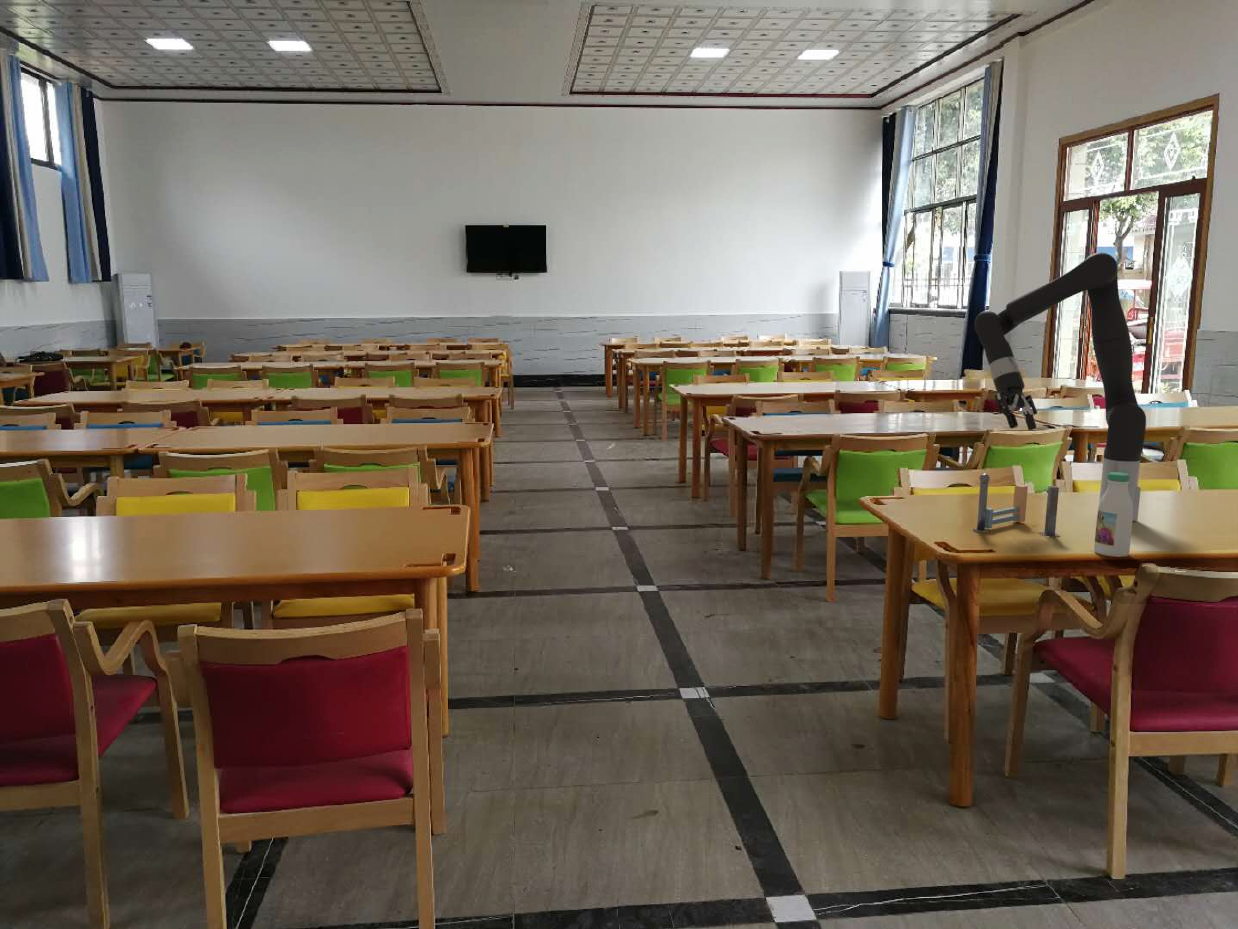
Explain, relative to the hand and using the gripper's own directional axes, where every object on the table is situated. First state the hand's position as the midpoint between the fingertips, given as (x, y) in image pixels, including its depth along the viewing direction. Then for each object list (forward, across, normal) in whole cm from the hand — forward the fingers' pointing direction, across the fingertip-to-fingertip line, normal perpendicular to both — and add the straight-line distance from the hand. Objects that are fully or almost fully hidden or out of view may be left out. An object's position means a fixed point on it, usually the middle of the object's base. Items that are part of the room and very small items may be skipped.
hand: (1023, 428), depth 266 cm
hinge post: (+27, -19, +10) cm, 34 cm away
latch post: (+32, -7, -2) cm, 33 cm away
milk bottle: (+42, -11, -18) cm, 47 cm away
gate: (+25, -9, +9) cm, 28 cm away
